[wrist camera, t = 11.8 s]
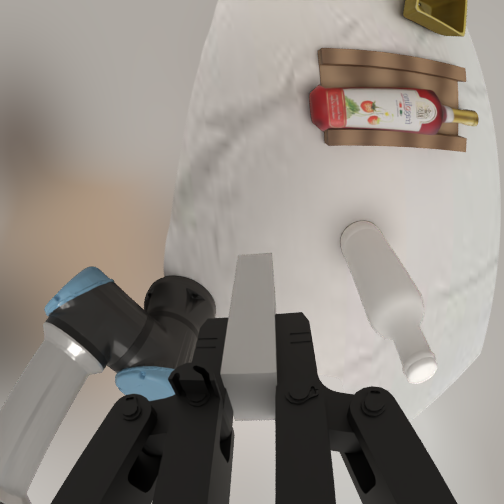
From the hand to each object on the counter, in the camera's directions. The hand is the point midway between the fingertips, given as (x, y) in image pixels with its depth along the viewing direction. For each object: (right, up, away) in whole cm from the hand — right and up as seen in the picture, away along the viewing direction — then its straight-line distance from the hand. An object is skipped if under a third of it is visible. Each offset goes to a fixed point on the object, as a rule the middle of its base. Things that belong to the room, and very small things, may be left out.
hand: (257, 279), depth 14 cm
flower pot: (+27, +41, +15) cm, 51 cm away
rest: (+23, +25, +24) cm, 42 cm away
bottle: (+19, +4, +37) cm, 42 cm away
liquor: (+8, +21, +23) cm, 32 cm away
